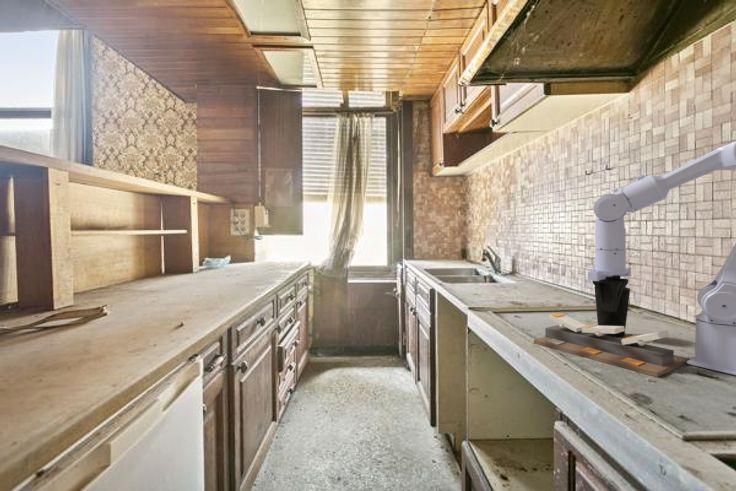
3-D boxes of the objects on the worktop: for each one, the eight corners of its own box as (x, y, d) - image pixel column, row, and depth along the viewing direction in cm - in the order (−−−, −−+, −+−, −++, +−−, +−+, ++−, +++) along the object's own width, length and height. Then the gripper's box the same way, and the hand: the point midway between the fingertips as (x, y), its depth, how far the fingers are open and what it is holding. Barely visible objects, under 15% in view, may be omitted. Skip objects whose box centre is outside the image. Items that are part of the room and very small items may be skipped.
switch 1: (585, 332, 88) (587, 325, 87) (575, 334, 86) (577, 327, 85) (557, 319, 94) (559, 312, 93) (547, 321, 92) (549, 314, 91)
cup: (594, 336, 95) (595, 288, 94) (592, 329, 101) (593, 284, 101) (631, 340, 91) (632, 290, 91) (627, 332, 98) (628, 286, 97)
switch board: (689, 362, 75) (689, 347, 75) (657, 377, 68) (657, 360, 68) (568, 334, 97) (568, 322, 97) (533, 343, 89) (533, 330, 89)
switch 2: (625, 334, 81) (624, 325, 81) (615, 337, 78) (614, 328, 79) (592, 332, 86) (591, 324, 87) (582, 335, 84) (581, 327, 85)
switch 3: (670, 339, 74) (666, 329, 74) (661, 342, 72) (657, 332, 72) (633, 345, 79) (630, 336, 80) (624, 348, 77) (620, 339, 78)
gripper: (607, 248, 90) (608, 304, 91) (573, 250, 83) (573, 311, 83) (641, 248, 84) (641, 309, 85) (607, 251, 77) (607, 317, 77)
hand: (610, 310), depth 83 cm, fingers closed
